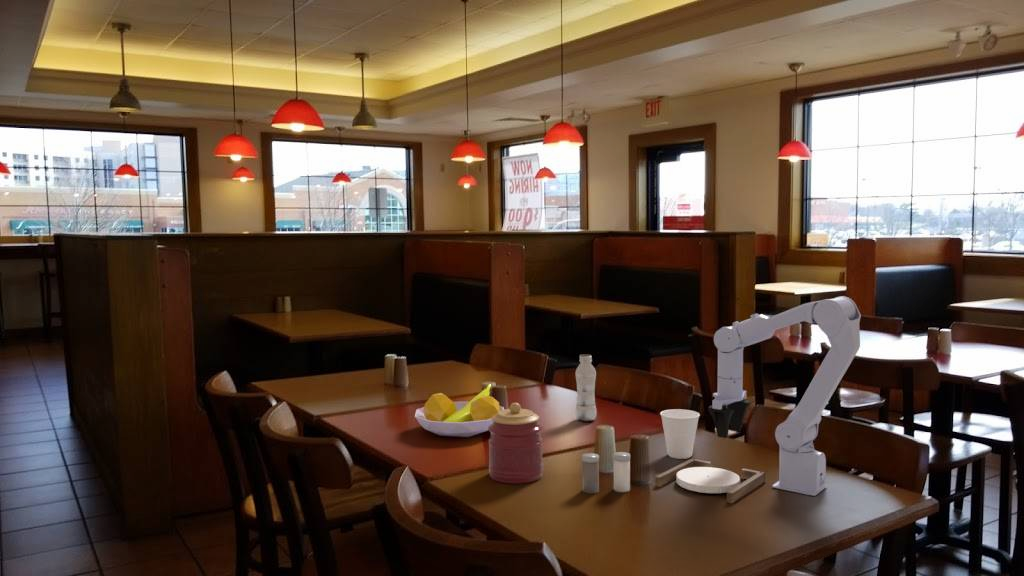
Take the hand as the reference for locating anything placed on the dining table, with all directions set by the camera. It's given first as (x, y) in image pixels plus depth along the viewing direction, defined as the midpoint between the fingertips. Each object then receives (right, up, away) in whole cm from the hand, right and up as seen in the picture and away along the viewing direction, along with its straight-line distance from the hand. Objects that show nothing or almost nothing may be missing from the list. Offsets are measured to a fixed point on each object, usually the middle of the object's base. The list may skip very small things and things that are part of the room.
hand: (729, 433), depth 185 cm
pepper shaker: (-34, -11, -11) cm, 37 cm away
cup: (-9, -9, +15) cm, 19 cm away
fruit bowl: (-66, -7, +43) cm, 79 cm away
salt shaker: (-27, -11, -10) cm, 31 cm away
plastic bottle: (-29, -6, +53) cm, 61 cm away
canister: (-51, -10, +1) cm, 52 cm away
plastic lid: (-7, -11, -8) cm, 15 cm away
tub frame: (-7, -10, -7) cm, 14 cm away
